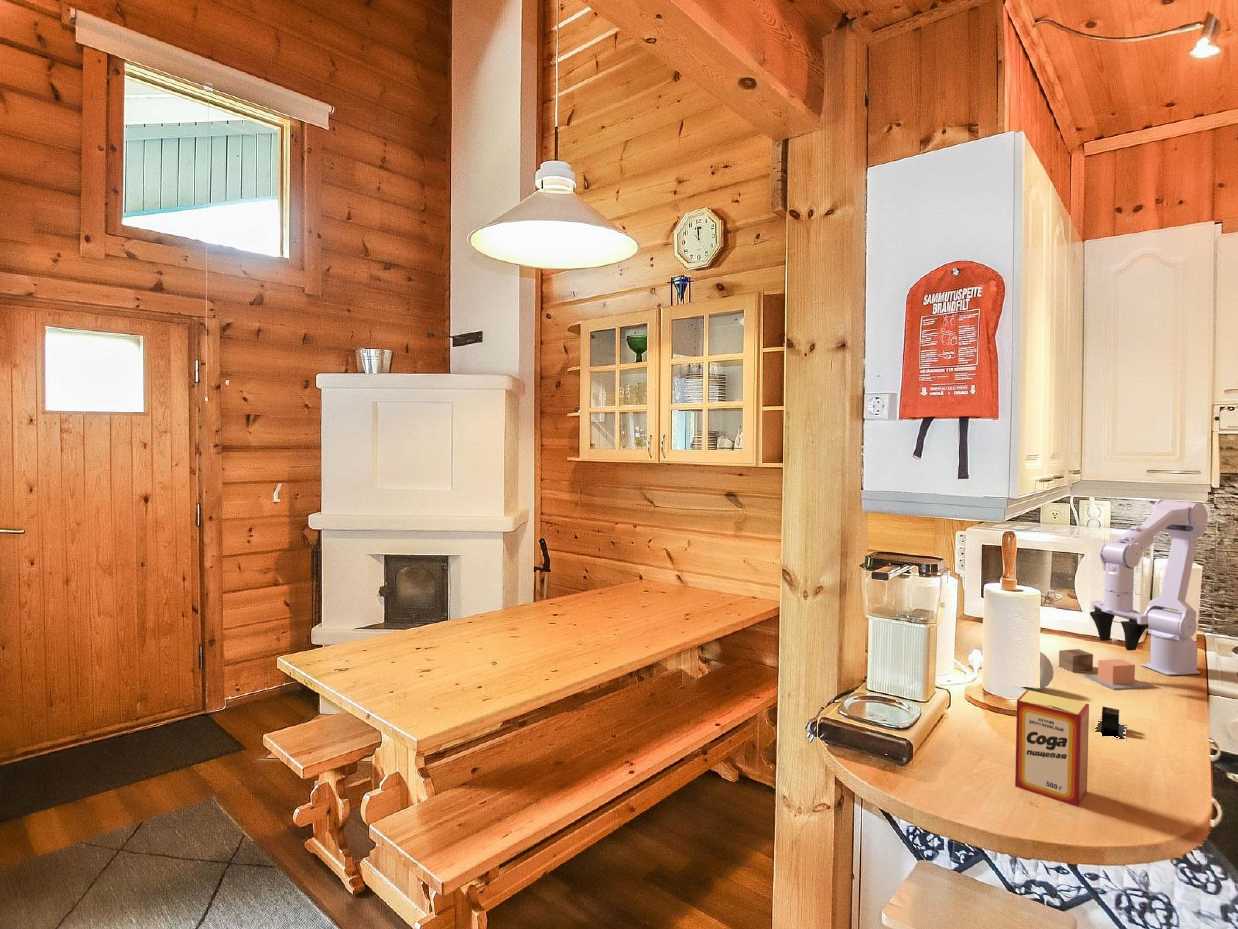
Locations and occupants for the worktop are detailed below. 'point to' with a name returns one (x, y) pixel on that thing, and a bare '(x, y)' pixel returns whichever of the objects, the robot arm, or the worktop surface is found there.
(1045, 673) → the grey rounded piece
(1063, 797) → the baking soda box
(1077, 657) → the walnut block
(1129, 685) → the baseplate
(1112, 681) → the terracotta block
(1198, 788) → the worktop surface
